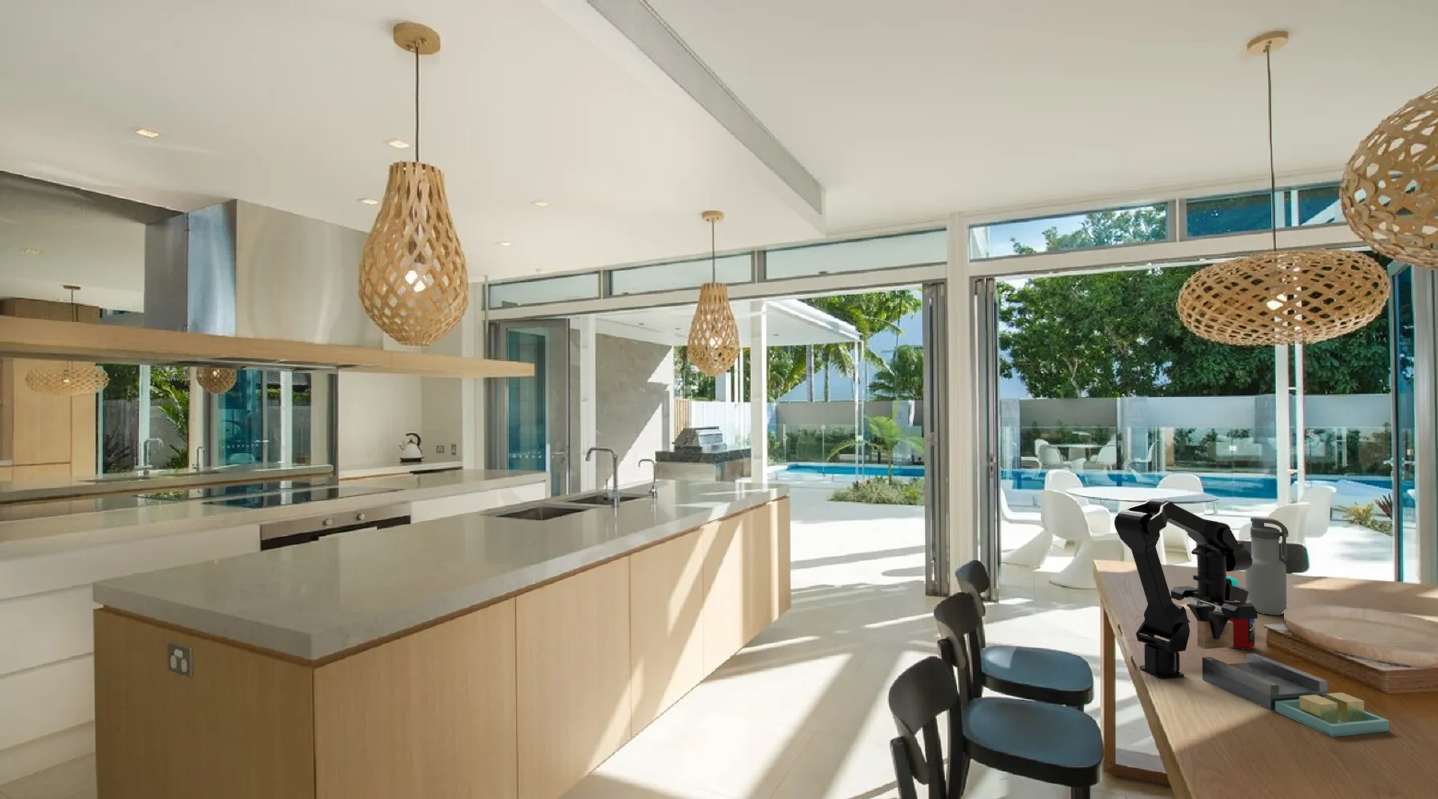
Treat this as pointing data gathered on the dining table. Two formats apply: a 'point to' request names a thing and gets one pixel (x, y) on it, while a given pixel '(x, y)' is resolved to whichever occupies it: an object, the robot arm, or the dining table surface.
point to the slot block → (1262, 680)
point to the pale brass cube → (1319, 708)
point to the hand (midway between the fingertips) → (1212, 637)
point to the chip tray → (1339, 729)
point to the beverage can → (1243, 631)
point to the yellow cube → (1348, 707)
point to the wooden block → (1207, 639)
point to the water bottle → (1267, 567)
